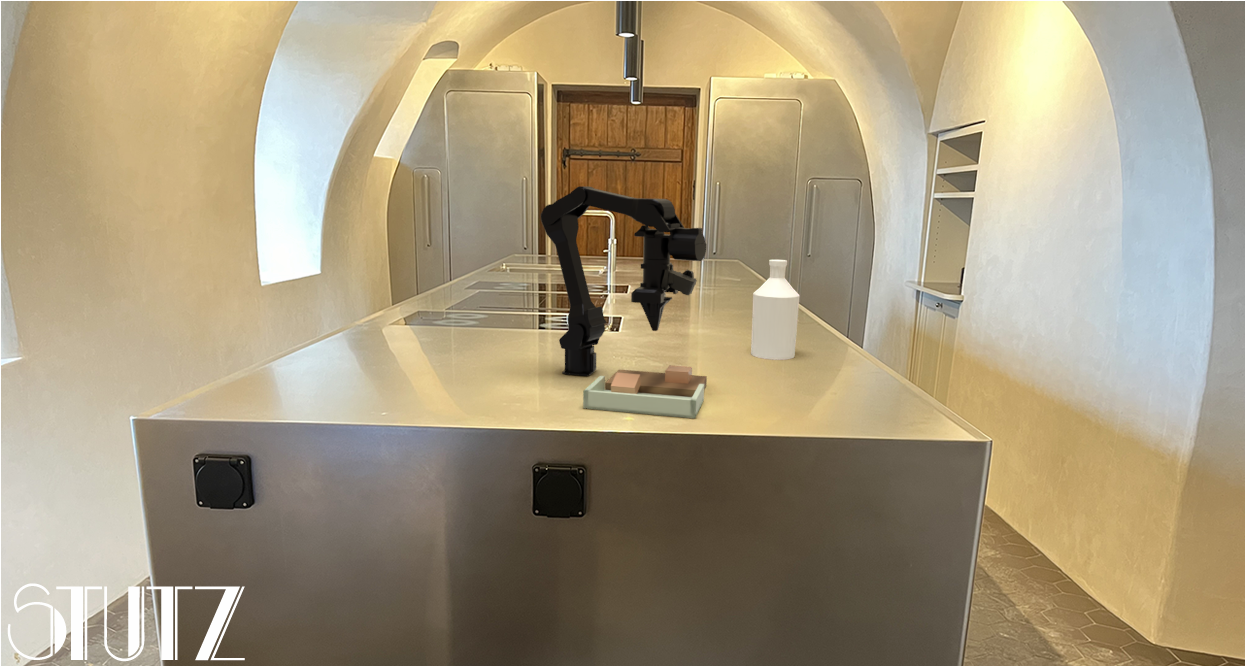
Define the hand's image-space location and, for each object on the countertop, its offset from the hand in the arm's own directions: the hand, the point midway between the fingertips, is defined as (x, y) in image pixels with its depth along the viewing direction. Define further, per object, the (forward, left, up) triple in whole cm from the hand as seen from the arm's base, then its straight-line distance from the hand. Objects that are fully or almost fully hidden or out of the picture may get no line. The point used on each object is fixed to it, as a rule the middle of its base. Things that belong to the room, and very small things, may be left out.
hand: (655, 330), depth 157 cm
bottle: (+24, +40, -12) cm, 48 cm away
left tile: (-4, -10, -11) cm, 16 cm away
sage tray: (+1, -15, -12) cm, 19 cm away
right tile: (+6, -1, -10) cm, 12 cm away
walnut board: (+1, -2, -12) cm, 12 cm away
